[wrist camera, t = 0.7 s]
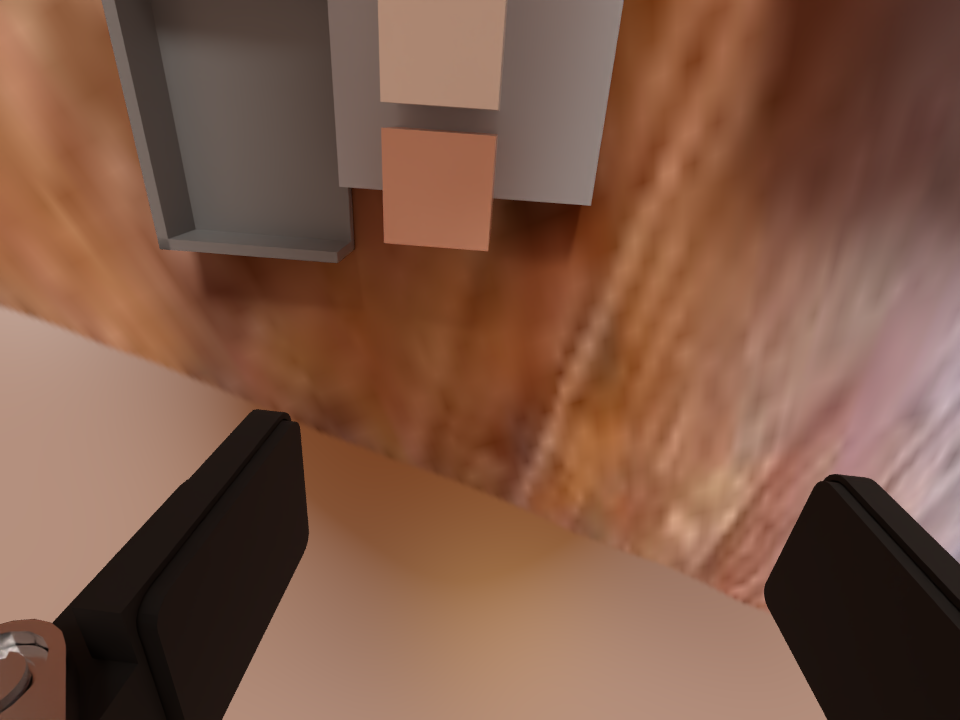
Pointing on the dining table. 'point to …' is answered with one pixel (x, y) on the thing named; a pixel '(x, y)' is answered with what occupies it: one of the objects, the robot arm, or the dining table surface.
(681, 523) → the dining table surface
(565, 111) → the slate board
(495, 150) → the salmon square block
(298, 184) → the tray
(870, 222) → the dining table surface
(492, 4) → the beige square block
